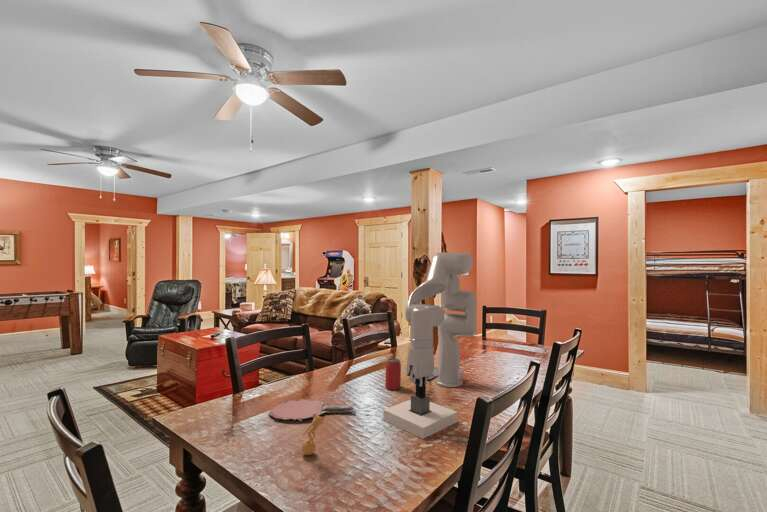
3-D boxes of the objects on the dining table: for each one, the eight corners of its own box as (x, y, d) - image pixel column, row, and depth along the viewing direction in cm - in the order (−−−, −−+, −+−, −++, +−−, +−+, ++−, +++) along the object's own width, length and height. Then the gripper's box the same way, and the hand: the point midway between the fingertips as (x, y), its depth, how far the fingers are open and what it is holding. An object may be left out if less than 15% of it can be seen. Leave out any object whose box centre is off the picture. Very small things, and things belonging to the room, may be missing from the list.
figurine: (312, 445, 108) (313, 405, 108) (328, 451, 105) (329, 409, 105) (293, 459, 100) (294, 415, 100) (310, 465, 97) (311, 420, 98)
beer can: (399, 391, 154) (399, 362, 154) (383, 389, 155) (384, 361, 155) (401, 386, 160) (402, 358, 161) (386, 384, 162) (387, 357, 162)
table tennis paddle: (287, 401, 142) (287, 393, 142) (357, 410, 134) (357, 402, 134) (260, 419, 125) (261, 411, 125) (339, 432, 117) (339, 423, 117)
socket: (417, 406, 139) (417, 396, 139) (456, 422, 126) (457, 412, 126) (383, 419, 126) (383, 409, 126) (423, 439, 113) (423, 427, 113)
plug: (419, 415, 129) (419, 392, 129) (429, 419, 126) (429, 396, 126) (410, 419, 126) (410, 395, 126) (420, 423, 123) (421, 399, 123)
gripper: (426, 338, 134) (425, 388, 134) (398, 344, 124) (397, 398, 123) (443, 342, 129) (442, 394, 128) (415, 348, 118) (414, 405, 118)
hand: (420, 396), depth 126 cm, fingers closed
